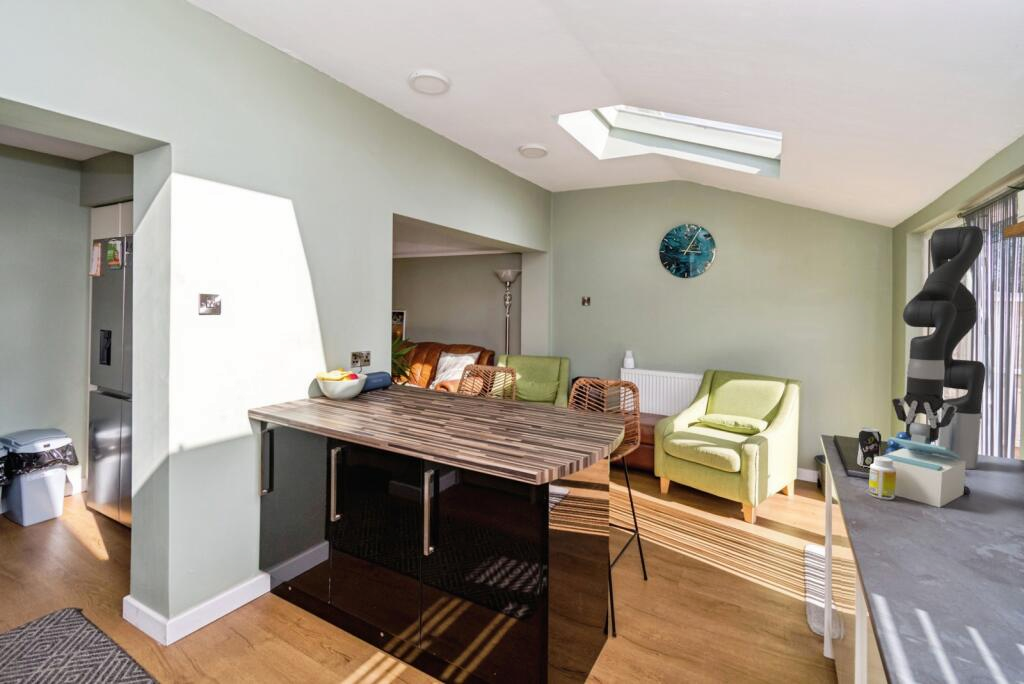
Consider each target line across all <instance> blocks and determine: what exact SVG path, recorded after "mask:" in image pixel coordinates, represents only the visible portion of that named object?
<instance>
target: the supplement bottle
mask: <svg viewBox="0 0 1024 684" xmlns="http://www.w3.org/2000/svg"><path fill="white" fill-rule="evenodd" d="M880 456H881V455H880ZM880 456H877V457H874V463H873V464H871V465H870V469H869V479H868V494H869V496H872V497H873V498H877V499H880V500H888V501H889V500H894V499H895V498H896V495H895V485H896V468H895V467H893V460H892V459H890V458H887V457H880Z"/></svg>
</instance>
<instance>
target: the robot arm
mask: <svg viewBox="0 0 1024 684" xmlns="http://www.w3.org/2000/svg"><path fill="white" fill-rule="evenodd" d="M929 241H930V242H929V243H930V245H929V246H930V248H929V249H930V255H931V263H932V269H933V271H931V273H930V274H929V275H928V276H927V278H925V282H924V285H923V286H922V288H921V290H920V291H919V292H918V293H917V294H916V295H915V296H914V297H912V298H911V299H910V300H909V301H908V303H907V304H906V306H905V307H904V309H903V313H902V319H903V321H904V322H905V324H906V325H908V326H909V327H913V328H914V327H915V328H932V329H933V328H935V329H934V331H933V332H932V333H931V334H929V335H922V336H921V335H920V336H913V338H911V339H910V344H909V345H910V346H909V348H910V349H909V359H908V364H907V370H906V375H907V376H906V390H905V391H906V394H905V395H904V396H903V397H900V398H899V397H896V398H893V399H892V400H891V401H892V405H893V407H894V410H895V413H896V414H895V415H896V418H897V419H898V421H902V422H904V423H905V432H906V435H908V438H911V437H912V435H910V425H911V423H912V422H915V421H916V419H917V417H918V416H919V414H923V415H926V416H927V419H928V420H929V425H931V428H930V438H929V441H930V442H931V443H935V442H936V441H937V440H939V443H938V446H940V447H946V448H947V449H949V450H951V451H952V452H954V453H956V454H957V455H959V456H960V457H961V459H958V458H953V457H948V456H943V455H938V454H937V456H942V457H947V458H952V459H957V460H961V461H966V463H965V470H966V469H967V470H975V469H977V468H978V460H979V449H980V448H979V447H980V446H979V445H980V433H981V417H982V415H981V414H982V405H983V404H982V403H983V393H984V388H985V387H984V386H985V381H986V366H985V364H984V363H983V362H982V361H981V360H971V359H970V360H969V359H954V358H953V354H954V351H955V349H956V347H957V346H958V344H959V343H960V342H961V341H962V340H963V339H964V337H966V335H967V334H969V332H970V331H971V330H972V329H973V328H974V326H975V325H976V323H977V319H978V317H977V316H978V313H977V301H976V298H975V296H974V294H973V292H971V291H970V289H968V288H967V286H965V284H963V283H962V282H961V281H962V279H963V277H964V276H965V275H966V274H967V272H968V271H969V270H970V268H971V267H972V266H973V264H974V263H975V262H976V260H977V258H978V257H979V256H980V254H981V252H982V249H983V245H984V232H983V229H981V228H980V227H979V226H977V225H963V226H955V227H947V228H937V229H935V230H934V231H933V232H932V234H931V237H930V240H929ZM944 388H947V389H953V390H954V389H956V390H964V391H967V392H966V394H965V395H964V394H963V395H962V396H959V397H954V398H947V399H944ZM905 404H906V405H907V406H908V408H909V410H908V412H907V414H906V411H905V407H904V405H905ZM940 409H941V410H940ZM939 410H940V411H941V412H940V417H939V413H938V411H939ZM939 418H940V419H939Z"/></svg>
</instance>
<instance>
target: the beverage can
mask: <svg viewBox="0 0 1024 684" xmlns="http://www.w3.org/2000/svg"><path fill="white" fill-rule="evenodd" d="M860 429H861V430H859V432H858V437H857V438H858V439H857V461H856V463H857V464H858V465H859V466H860V467H861V466H863V467H862V468H864V467H868V468H870V465H871V464H873V463H874V457H877V456H881V450H882V448H881V446H882V434H881V433H880V430H879V429H877V428H875V427H874V428H872V427H861V428H860ZM868 468H867V469H868Z"/></svg>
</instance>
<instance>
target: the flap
mask: <svg viewBox="0 0 1024 684" xmlns="http://www.w3.org/2000/svg"><path fill="white" fill-rule="evenodd" d="M930 428H931V425H930V424H926V423H920V422H915V421H914V422H912V423H911V425H910V435H912V437H911V441H909V440H904V439H899V438H896V437H893V436H890V438H889V439H891V440H893V441H894V442H896V443H898V444H900V445H902V446H904V447H905V448H909V449H914V450H919V451H923V452H928V453H933V454H932V455H937V456H938V455H943V456H948V457H953V458H958V459H961V457H960V456H959V455H957V454H956V453H954V452H952V451H951V450H949V449H947V448H946V447H940V446H939V445H934V444H928V439H929V438H930Z"/></svg>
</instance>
